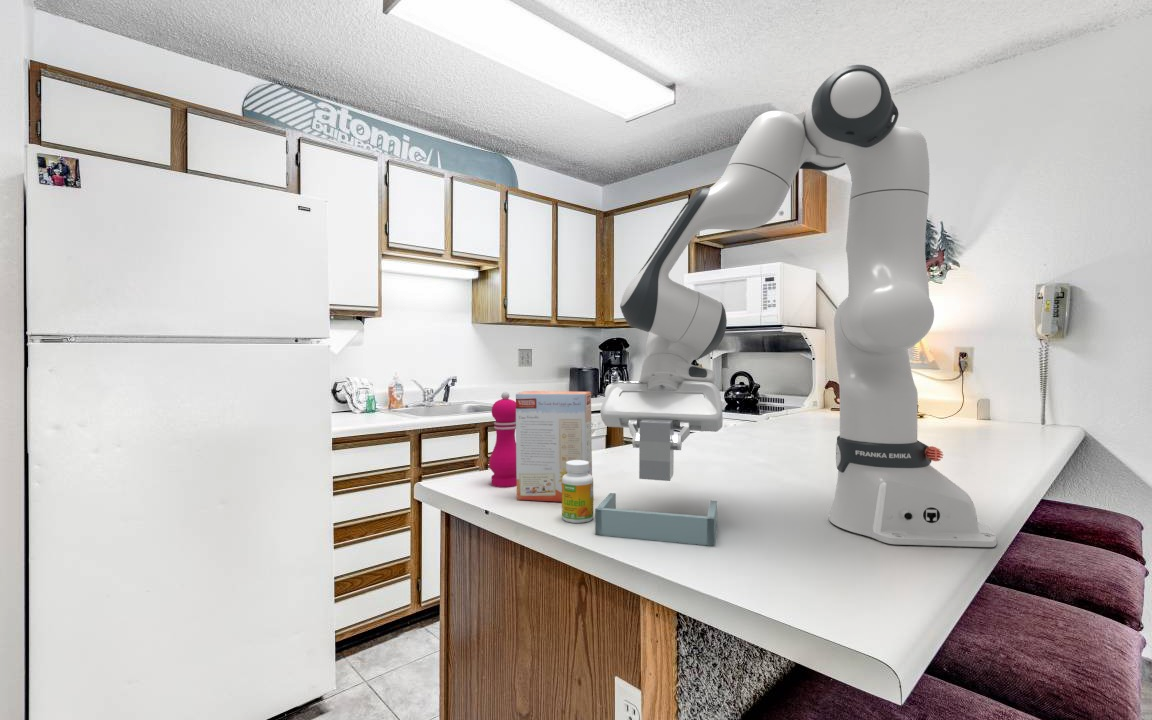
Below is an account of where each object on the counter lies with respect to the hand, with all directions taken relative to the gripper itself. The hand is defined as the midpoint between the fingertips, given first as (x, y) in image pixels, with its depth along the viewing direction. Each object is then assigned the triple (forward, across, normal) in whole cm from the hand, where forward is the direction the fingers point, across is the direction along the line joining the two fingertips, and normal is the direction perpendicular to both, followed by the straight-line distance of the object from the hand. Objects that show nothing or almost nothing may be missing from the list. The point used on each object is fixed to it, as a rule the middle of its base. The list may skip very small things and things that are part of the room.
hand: (656, 446), depth 86 cm
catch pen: (+9, 0, +10) cm, 13 cm away
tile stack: (+3, 0, +4) cm, 5 cm away
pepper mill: (-5, -36, +25) cm, 44 cm away
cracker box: (0, -22, +19) cm, 29 cm away
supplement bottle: (+8, -14, +11) cm, 20 cm away
